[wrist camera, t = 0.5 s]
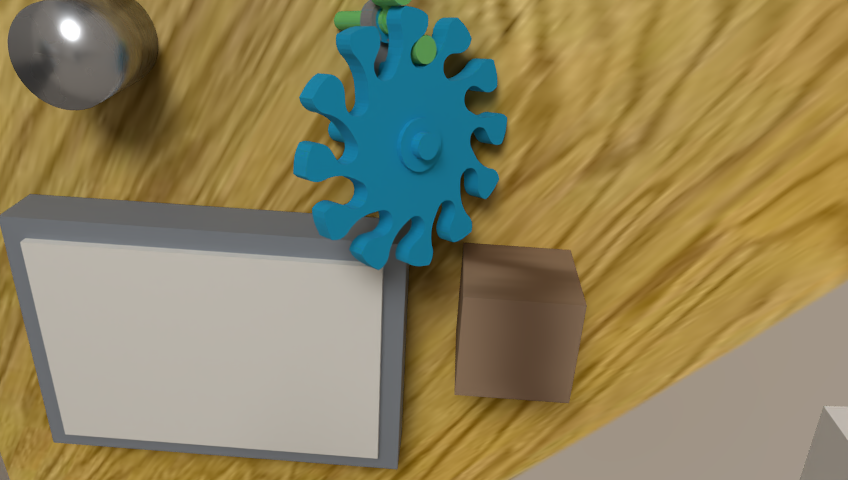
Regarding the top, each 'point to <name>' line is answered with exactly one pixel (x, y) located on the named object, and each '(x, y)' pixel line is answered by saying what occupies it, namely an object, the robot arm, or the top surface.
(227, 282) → the stand
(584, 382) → the top surface
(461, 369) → the walnut block
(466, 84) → the gear
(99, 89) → the steel cylinder
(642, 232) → the top surface
